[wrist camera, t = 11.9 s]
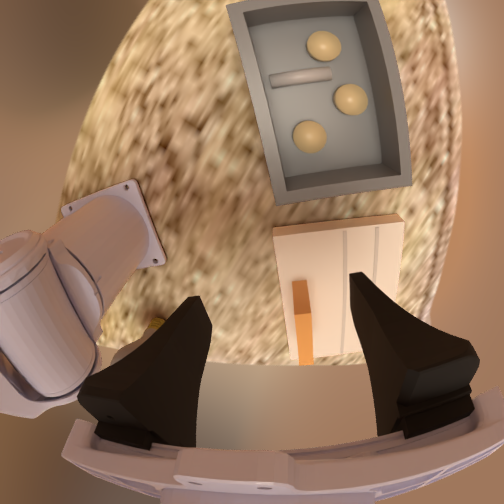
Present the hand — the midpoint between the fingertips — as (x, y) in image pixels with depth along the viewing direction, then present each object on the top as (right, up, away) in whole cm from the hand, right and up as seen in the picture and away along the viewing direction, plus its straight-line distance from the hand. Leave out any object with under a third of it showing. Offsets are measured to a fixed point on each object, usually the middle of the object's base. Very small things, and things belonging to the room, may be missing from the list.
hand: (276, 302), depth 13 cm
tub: (+4, +13, +4) cm, 14 cm away
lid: (+7, -1, +12) cm, 14 cm away
